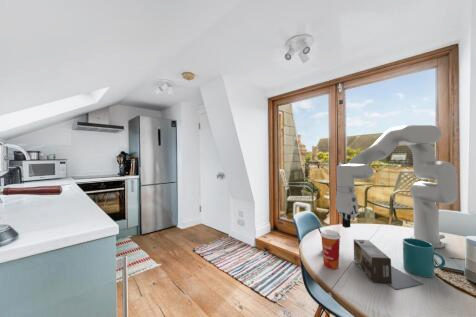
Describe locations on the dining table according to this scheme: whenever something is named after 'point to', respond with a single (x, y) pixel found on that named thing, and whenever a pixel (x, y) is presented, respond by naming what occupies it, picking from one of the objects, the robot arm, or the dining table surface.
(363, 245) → the coffee box
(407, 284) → the mat
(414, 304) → the dining table surface
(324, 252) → the paper cup
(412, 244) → the cup
